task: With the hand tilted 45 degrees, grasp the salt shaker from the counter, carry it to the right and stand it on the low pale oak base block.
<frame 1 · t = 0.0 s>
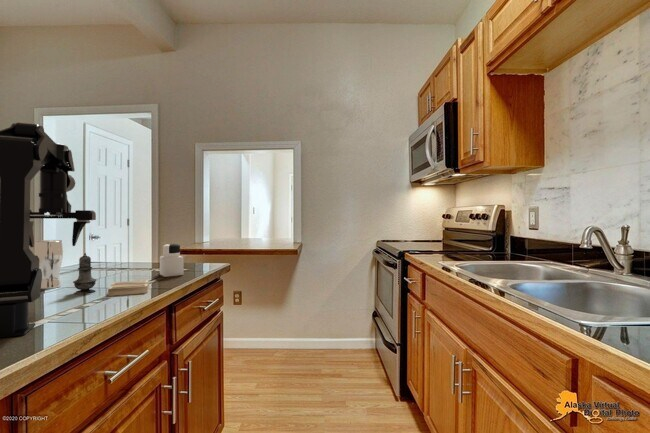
hand: (53, 246, 92), 15 cm above the worktop, tool pointing down, fingers open, 9 cm apart
salt shaker: (85, 293, 101), on the worktop
medicine bottle: (171, 275, 131), on the worktop
beer glass: (48, 287, 107), on the worktop
oak base: (129, 290, 103), on the worktop
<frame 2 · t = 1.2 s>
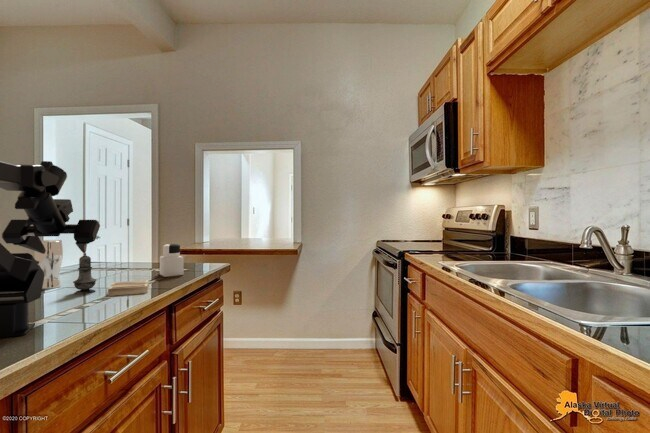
hand: (64, 251, 89), 14 cm above the worktop, tool tilted 45°, fingers open, 9 cm apart
nothing on the worktop moved.
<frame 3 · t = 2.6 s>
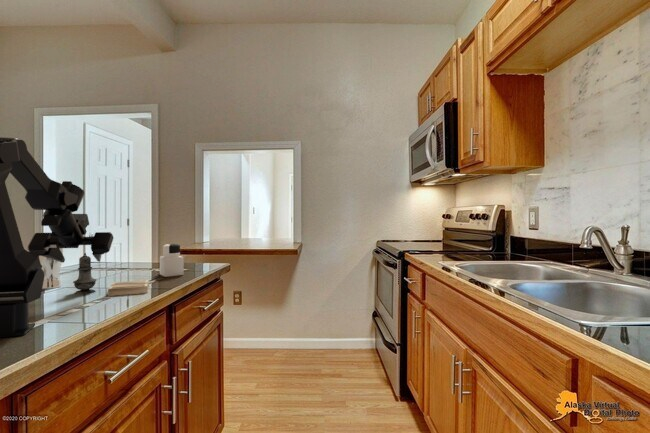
hand: (81, 260, 99), 10 cm above the worktop, tool tilted 45°, fingers open, 9 cm apart
nothing on the worktop moved.
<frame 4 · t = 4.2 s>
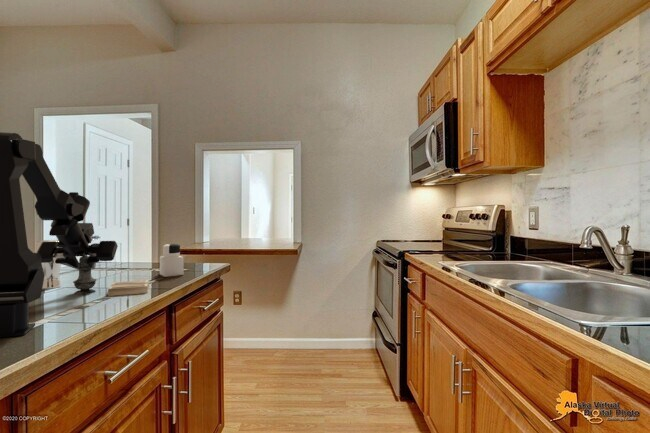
hand: (87, 268, 102), 7 cm above the worktop, tool tilted 45°, fingers closed on salt shaker, 4 cm apart
salt shaker: (85, 293, 101), on the worktop, touching gripper
everything else where it was.
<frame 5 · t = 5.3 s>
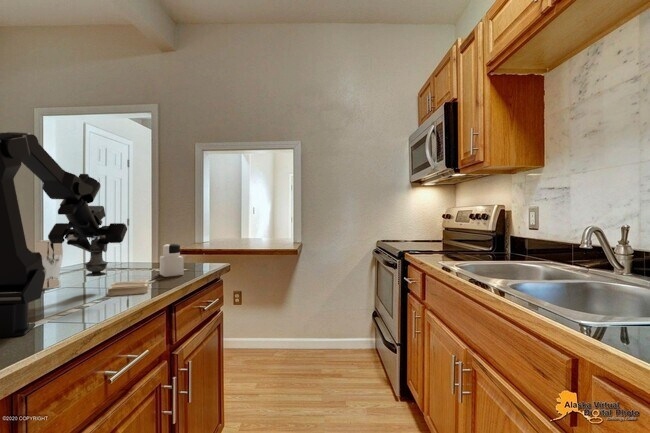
hand: (98, 251, 103), 12 cm above the worktop, tool tilted 45°, fingers closed on salt shaker, 4 cm apart
salt shaker: (96, 275, 102), point 5 cm above the worktop, touching gripper
everything else where it was.
when the fingers open (10 cm above the worktop, at t = 6.5 s): salt shaker stays where it is, resting on oak base.
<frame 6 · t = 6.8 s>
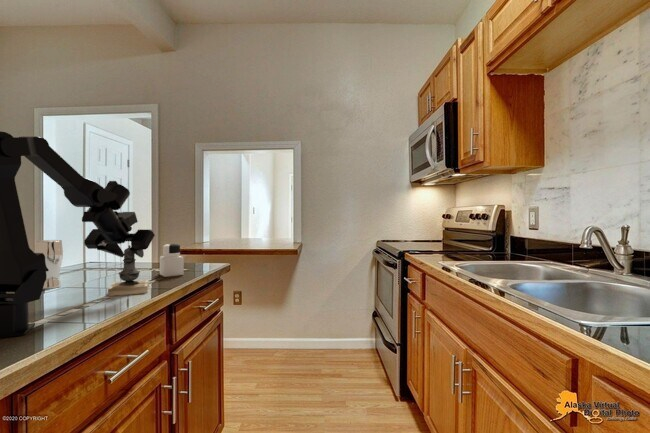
hand: (132, 256, 105), 11 cm above the worktop, tool tilted 45°, fingers open, 6 cm apart
salt shaker: (129, 284, 103), point 2 cm above the worktop, touching oak base
everything else where it was.
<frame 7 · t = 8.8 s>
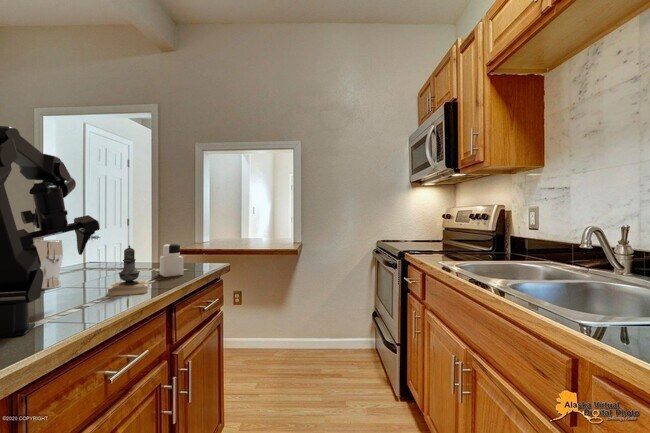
hand: (60, 260, 90), 11 cm above the worktop, tool tilted 25°, fingers open, 9 cm apart
nothing on the worktop moved.
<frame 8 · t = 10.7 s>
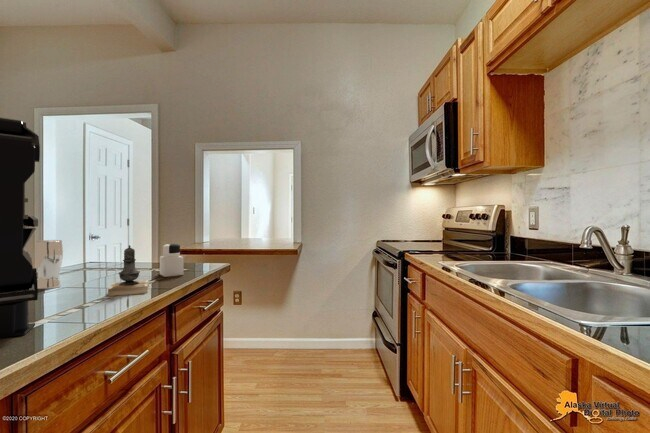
hand: (9, 258, 80), 13 cm above the worktop, tool pointing down, fingers open, 9 cm apart
nothing on the worktop moved.
at the end: salt shaker 0.2 cm from the oak base (horizontally); salt shaker touching oak base; salt shaker tilted 0° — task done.
